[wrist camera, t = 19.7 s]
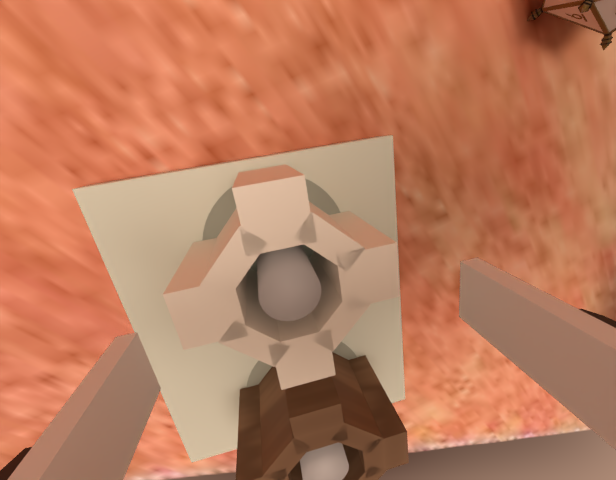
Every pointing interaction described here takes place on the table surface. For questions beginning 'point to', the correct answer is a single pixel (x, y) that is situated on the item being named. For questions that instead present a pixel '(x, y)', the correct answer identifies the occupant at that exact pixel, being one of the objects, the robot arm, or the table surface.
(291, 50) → the table surface
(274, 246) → the cream gear
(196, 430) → the board
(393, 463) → the walnut gear
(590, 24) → the game die
